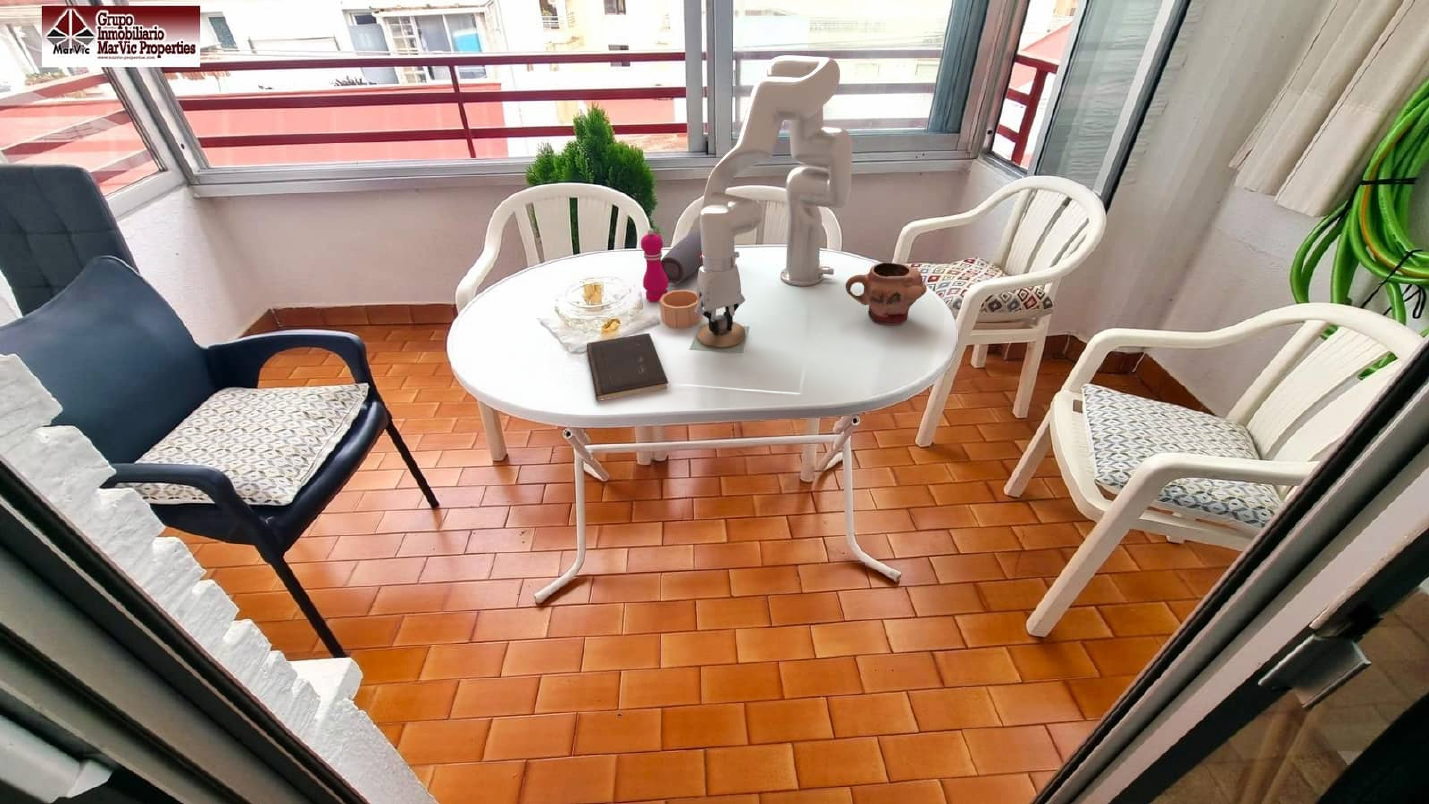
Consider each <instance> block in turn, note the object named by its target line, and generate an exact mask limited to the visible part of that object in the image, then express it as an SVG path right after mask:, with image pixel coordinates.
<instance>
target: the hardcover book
mask: <svg viewBox="0 0 1429 804" xmlns="http://www.w3.org/2000/svg"><path fill="white" fill-rule="evenodd" d="M586 344H587V349H586V355H587V358H588V359H587V360H588V363H589V369H590V373H591V379H592V380H591V381H592V384H593V389H594V394H595V400H596V402H597V401H598V400H599V401H602V400H601V399H605V400H609V399H608V398H610V399H615V397H616V398H620V397H626V396H630V395H636V394H642V393H647V392H653V391H658V390H664V389H667V388H668V385H667V384H669V380H668V378H667V375H666V373H665V371H664V368H663V365H662V363H661V359H660V357H659V355H658V353H657V350H656V346H655V343H654V342H653V339H652V336H651V334H650V333H649V332H647V333H643V334H642V333H641V334H635V335H629V336H624V337H617V338H610V339H605V340H604V339H603V340H599V341H592V342H588V343H586ZM599 401H598V402H599Z"/></svg>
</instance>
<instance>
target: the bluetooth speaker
mask: <svg viewBox="0 0 1429 804" xmlns="http://www.w3.org/2000/svg"><path fill="white" fill-rule="evenodd" d="M661 265H662V268H663V270H664V272H665V274H666V275H667V278H668V282H669V284H679V283H680V282H682V281H683V280H685V279H687V278H689V277H691V275H692V274H693V273H694V272H695V271H696V269H697V268H698V267H699V266H700V265H702V247H701V230H699V229H698V230H697V229H696V230H693V231H692V232H690V233H688V234H687V235H686V236H685V237H683V238H682V239H681V240H679V242H677V243H676V244H675V245H674V246H672V248H671V249H669V250H668V251H667V253H666V254H664V256H662V257H661ZM694 270H695V271H694ZM688 276H689V277H688Z"/></svg>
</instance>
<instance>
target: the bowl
mask: <svg viewBox="0 0 1429 804" xmlns="http://www.w3.org/2000/svg"><path fill="white" fill-rule="evenodd" d="M697 303H698V302H697V291H693V290H688V289H678V290H677V289H675V290H670V291H668V293H666V294H664V295H662V297H661V299H660V301H659V307H660V308H659V310H660V317H661V321H662V323H663V324H664V325H665V326H667V327H671V328H675V329H681V328H682V329H683V328H690V327H691V328H692V327H693V326H696V325H697V324H700V322H701V321H702V317H703V316H702V315H698V314H696V313H695V308H696V306H697Z"/></svg>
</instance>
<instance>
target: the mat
mask: <svg viewBox="0 0 1429 804" xmlns="http://www.w3.org/2000/svg"><path fill="white" fill-rule="evenodd" d="M704 324H705V323H699V324H698V328H697V330H696V332H695V335H694V338H693V340H692V342H691V345H690V347H689V350H691V351H705V352H708V351H709V352H722V353H735V354H737V353H738V354H742V353H743V352H744V349H745V345H746V341H747V337H748V334H749V330H750V326H747V325H746V326H745V325H742V326H743V328H744V329H745V338H744V339H743V340H742V341H741V342H740V343H738V344H736V345H734V346H730V347H724V348H716V347H710V346H707V345H704V344H703V343H701V342H700V341H699V340H698V337H697V332H698V329H699V328H700V327H701V326H703V325H704Z"/></svg>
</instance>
